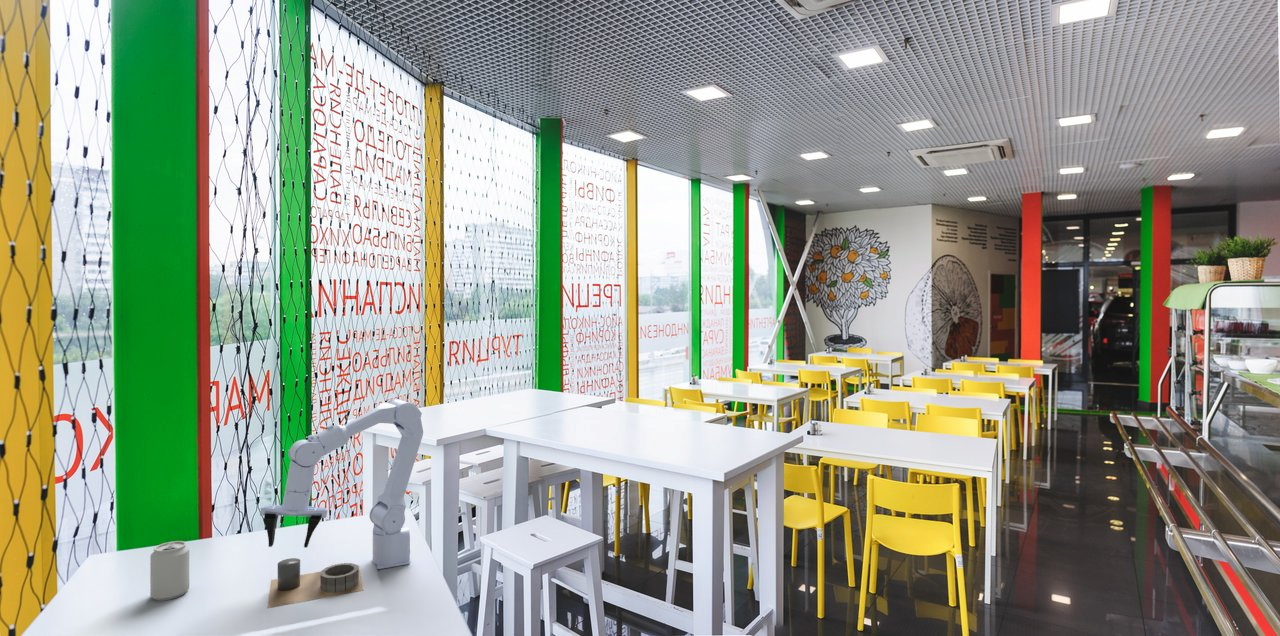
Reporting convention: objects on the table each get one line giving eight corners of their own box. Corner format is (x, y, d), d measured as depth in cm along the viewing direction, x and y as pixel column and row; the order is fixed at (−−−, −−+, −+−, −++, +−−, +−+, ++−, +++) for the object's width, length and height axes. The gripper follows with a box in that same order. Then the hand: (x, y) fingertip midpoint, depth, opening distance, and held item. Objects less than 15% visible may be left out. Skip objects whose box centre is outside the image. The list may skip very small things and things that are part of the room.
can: (146, 604, 143) (146, 553, 143) (154, 591, 150) (154, 542, 149) (186, 598, 146) (186, 548, 146) (192, 585, 153) (192, 537, 153)
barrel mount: (358, 568, 164) (359, 552, 164) (363, 594, 150) (363, 575, 150) (271, 583, 154) (271, 566, 154) (267, 612, 140) (267, 592, 140)
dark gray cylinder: (300, 580, 154) (300, 556, 154) (299, 588, 150) (300, 564, 150) (278, 584, 152) (278, 560, 152) (277, 592, 148) (277, 567, 147)
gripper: (261, 491, 146) (250, 550, 145) (328, 495, 151) (319, 551, 150) (267, 485, 153) (257, 541, 152) (332, 488, 158) (322, 542, 157)
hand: (288, 545), depth 151 cm, fingers open, 7 cm apart
